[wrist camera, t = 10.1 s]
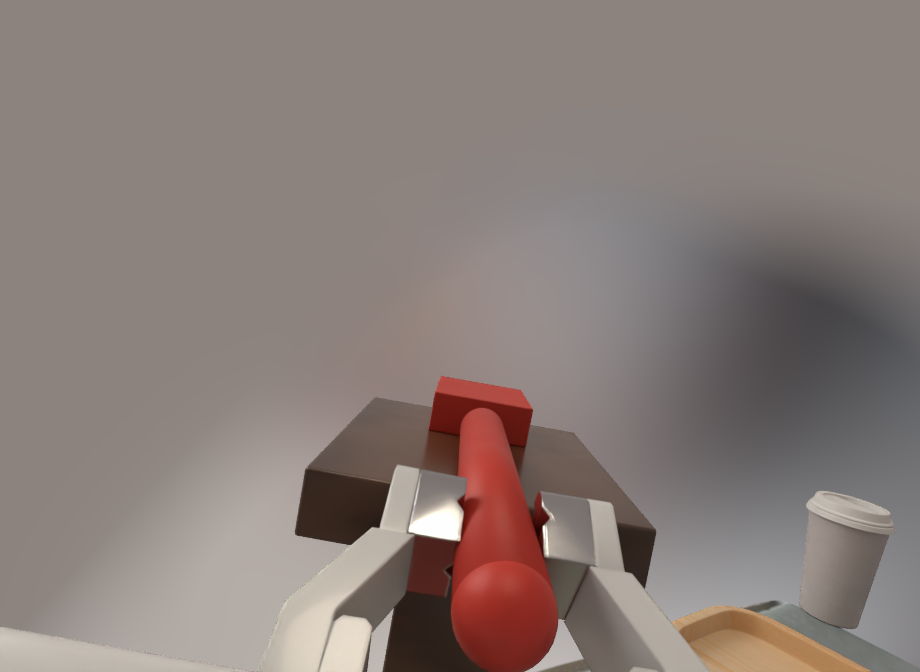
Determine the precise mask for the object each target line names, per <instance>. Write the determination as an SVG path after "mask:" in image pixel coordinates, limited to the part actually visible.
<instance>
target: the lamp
mask: <svg viewBox="0 0 920 672" xmlns="http://www.w3.org/2000/svg"><path fill="white" fill-rule="evenodd" d="M672 624H673V625H674V626H675V628H676V629H677V630H678V631H679V633H680V634H681V635H682V636H683V638H684V639H685V640H686V641H687V643H688V644H689V645H690V646H691V648H692V649H693V650H694V651H695V653H696V654H697V655H698V656H699V658H700V659H701V660H702V661H703V663H704V664H705V665H706V666H707V668H708V669H709V670H710V671H711V672H872V671H870V670H868V669H866V668H864V667H862V666H860V665H859V664H857V663H855V662H853V661H851V660H849V659H847V658H845V657H843V656H842V655H840V654H838V653H836V652H834V651H832V650H830V649H828V648H827V647H825V646H823V645H821V644H819V643H817V642H815V641H813V640H811V639H810V638H808V637H806V636H804V635H802V634H800V633H798V632H796V631H794V630H793V629H791V628H789V627H787V626H785V625H783V624H781V623H779V622H777V621H775V620H773V619H771V618H768V617H766V616H764V615H761V614H758V613H755V612H752V611H749V610H746V609H742V608H737V607H732V606H712V607H709V608H706V609H703V610H700V611H698V612H695V613H692V614H690V615H687V616H685V617H682V618H679V619H677V620H675V621H673V622H672Z"/></svg>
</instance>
